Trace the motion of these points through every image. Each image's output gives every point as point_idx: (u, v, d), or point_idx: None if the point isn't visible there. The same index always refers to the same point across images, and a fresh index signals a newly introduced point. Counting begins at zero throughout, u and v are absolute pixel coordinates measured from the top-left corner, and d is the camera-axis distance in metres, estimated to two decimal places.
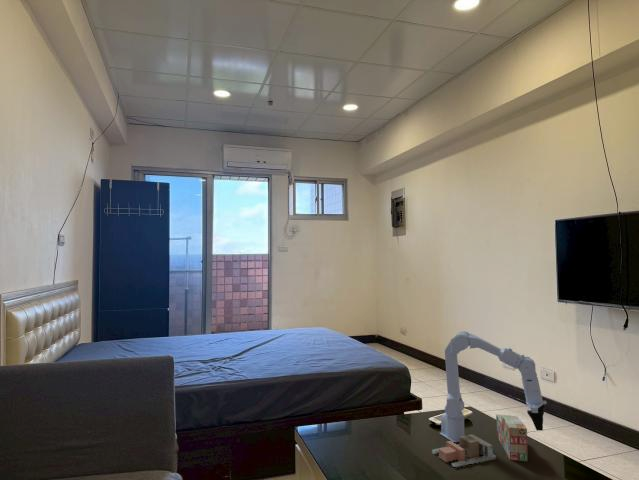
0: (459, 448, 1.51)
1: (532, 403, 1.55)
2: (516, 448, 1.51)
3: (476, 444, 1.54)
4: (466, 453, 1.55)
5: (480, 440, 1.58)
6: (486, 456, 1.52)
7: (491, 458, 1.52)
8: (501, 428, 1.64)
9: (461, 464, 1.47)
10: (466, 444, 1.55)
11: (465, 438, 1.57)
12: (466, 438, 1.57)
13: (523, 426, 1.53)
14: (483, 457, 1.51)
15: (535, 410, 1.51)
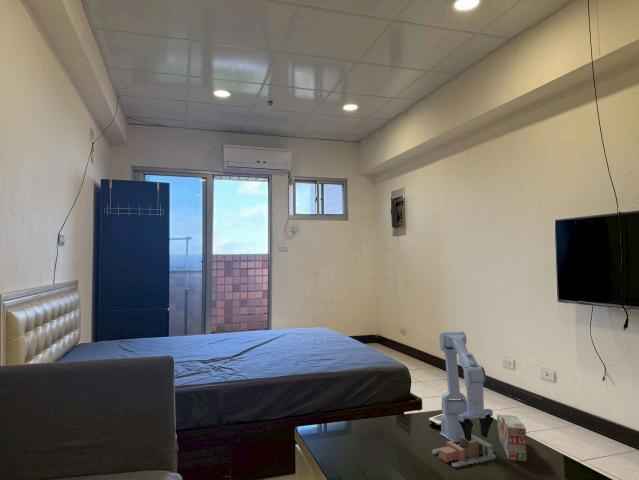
0: (459, 448, 1.51)
1: (468, 412, 1.48)
2: (515, 448, 1.51)
3: (476, 444, 1.54)
4: (466, 453, 1.55)
5: (480, 440, 1.58)
6: (486, 456, 1.52)
7: (491, 458, 1.52)
8: (501, 428, 1.64)
9: (461, 464, 1.47)
10: (466, 444, 1.55)
11: None
12: None
13: (522, 427, 1.53)
14: (483, 457, 1.51)
15: (460, 418, 1.46)
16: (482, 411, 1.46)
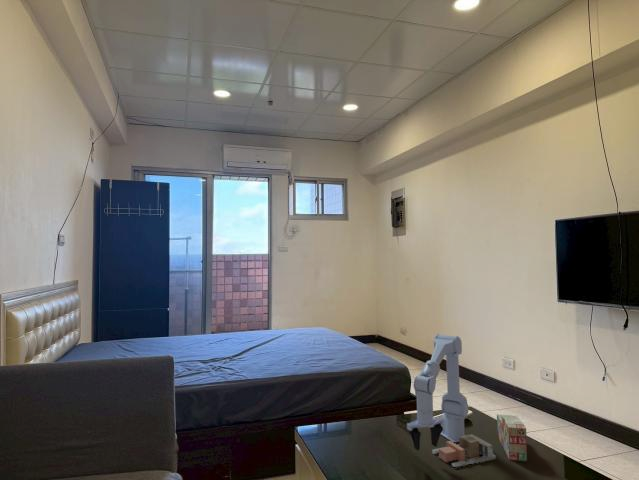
0: (459, 448, 1.51)
1: (417, 421, 1.49)
2: (515, 447, 1.51)
3: (476, 444, 1.54)
4: (466, 453, 1.55)
5: (480, 440, 1.58)
6: (486, 456, 1.52)
7: (491, 458, 1.52)
8: (501, 428, 1.65)
9: (461, 464, 1.47)
10: (466, 444, 1.55)
11: (465, 438, 1.57)
12: (466, 438, 1.57)
13: (523, 426, 1.53)
14: (483, 457, 1.51)
15: (408, 427, 1.47)
16: (431, 420, 1.47)
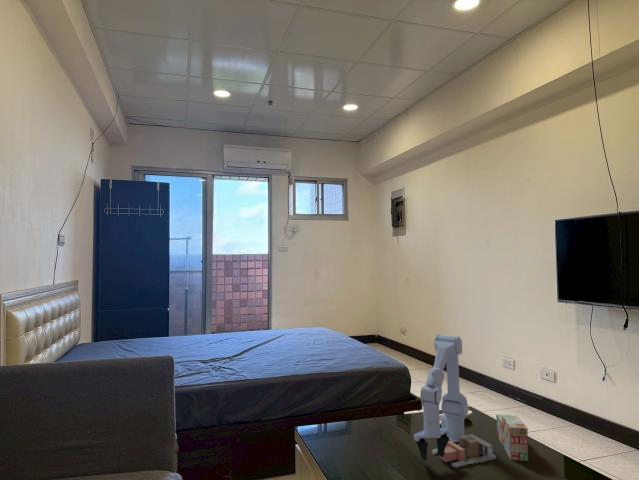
0: (459, 448, 1.51)
1: (424, 432, 1.50)
2: (516, 447, 1.51)
3: (476, 444, 1.54)
4: (466, 453, 1.55)
5: (480, 440, 1.58)
6: (486, 456, 1.52)
7: (491, 458, 1.52)
8: (501, 428, 1.65)
9: (461, 464, 1.47)
10: (466, 444, 1.55)
11: (465, 438, 1.57)
12: (466, 438, 1.57)
13: (524, 426, 1.53)
14: (483, 457, 1.51)
15: (415, 438, 1.48)
16: (437, 431, 1.48)
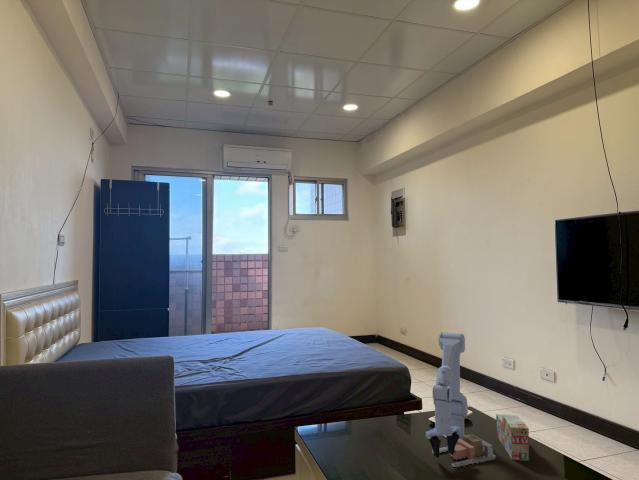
0: (469, 446, 1.53)
1: (435, 429, 1.52)
2: (517, 447, 1.51)
3: (479, 443, 1.54)
4: None
5: None
6: (486, 456, 1.52)
7: (491, 458, 1.52)
8: (502, 428, 1.65)
9: (461, 464, 1.47)
10: (469, 443, 1.55)
11: (468, 437, 1.57)
12: (469, 437, 1.57)
13: (525, 426, 1.53)
14: (483, 457, 1.51)
15: (427, 435, 1.49)
16: (449, 428, 1.50)
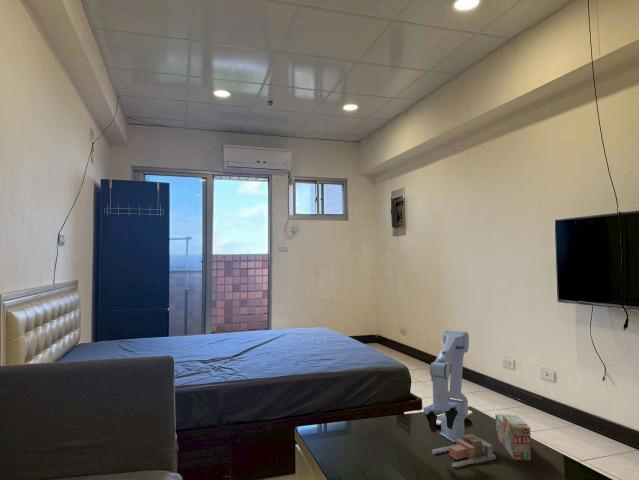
0: (469, 446, 1.53)
1: (433, 405, 1.56)
2: (519, 447, 1.51)
3: (479, 443, 1.54)
4: None
5: None
6: (486, 456, 1.52)
7: (491, 458, 1.52)
8: (502, 428, 1.65)
9: (461, 464, 1.47)
10: None
11: (468, 437, 1.57)
12: (469, 437, 1.57)
13: (526, 426, 1.53)
14: (483, 457, 1.51)
15: (425, 411, 1.53)
16: (446, 404, 1.54)
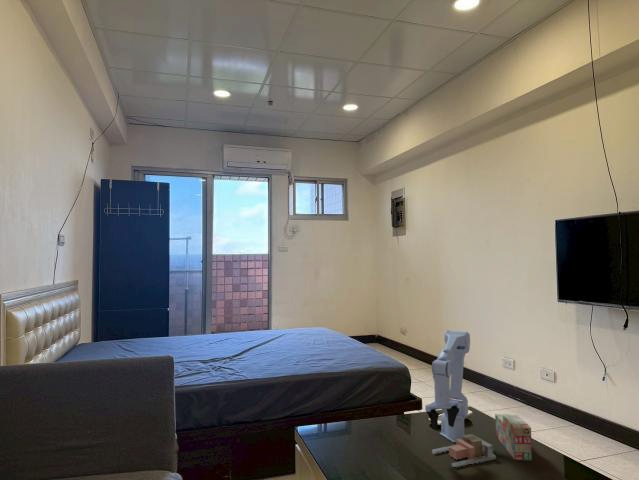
0: (469, 446, 1.53)
1: (435, 403, 1.57)
2: (520, 447, 1.52)
3: (479, 443, 1.54)
4: None
5: None
6: (486, 456, 1.52)
7: (491, 458, 1.52)
8: (502, 428, 1.65)
9: (461, 464, 1.47)
10: None
11: (468, 437, 1.57)
12: (469, 437, 1.57)
13: (527, 426, 1.53)
14: (483, 457, 1.51)
15: (427, 408, 1.55)
16: (448, 402, 1.55)
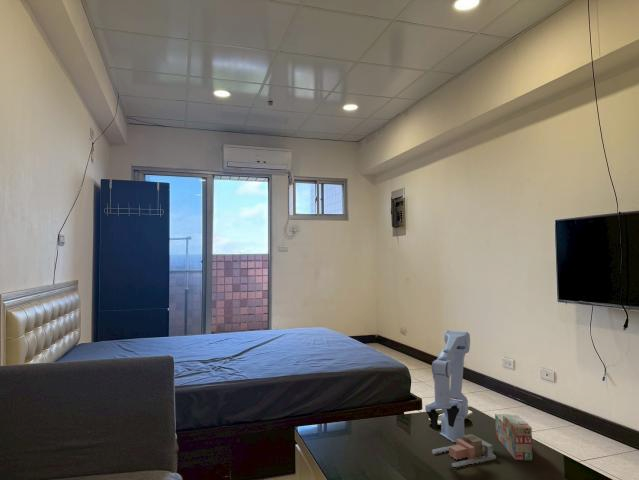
0: (469, 446, 1.53)
1: (435, 403, 1.57)
2: (521, 447, 1.52)
3: (479, 443, 1.54)
4: None
5: None
6: (486, 456, 1.52)
7: (491, 458, 1.52)
8: (502, 428, 1.65)
9: (461, 464, 1.47)
10: None
11: (468, 437, 1.57)
12: (469, 437, 1.57)
13: (528, 426, 1.53)
14: (483, 457, 1.51)
15: (427, 408, 1.55)
16: (448, 402, 1.55)
